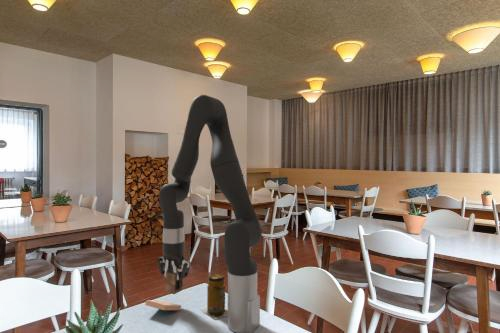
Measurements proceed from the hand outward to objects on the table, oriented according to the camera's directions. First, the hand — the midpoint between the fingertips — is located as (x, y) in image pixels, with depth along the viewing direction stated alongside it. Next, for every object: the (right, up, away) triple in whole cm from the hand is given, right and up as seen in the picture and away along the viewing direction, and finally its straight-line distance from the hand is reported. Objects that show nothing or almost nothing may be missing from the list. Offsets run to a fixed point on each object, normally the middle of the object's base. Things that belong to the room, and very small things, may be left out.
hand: (173, 287), depth 114 cm
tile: (0, -6, -1) cm, 6 cm away
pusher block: (0, -1, 0) cm, 1 cm away
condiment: (+16, -7, -4) cm, 18 cm away
